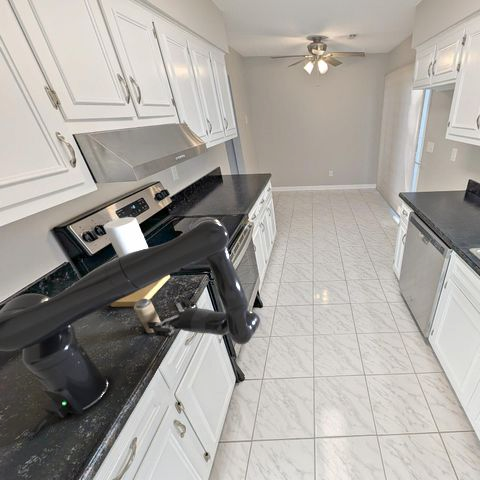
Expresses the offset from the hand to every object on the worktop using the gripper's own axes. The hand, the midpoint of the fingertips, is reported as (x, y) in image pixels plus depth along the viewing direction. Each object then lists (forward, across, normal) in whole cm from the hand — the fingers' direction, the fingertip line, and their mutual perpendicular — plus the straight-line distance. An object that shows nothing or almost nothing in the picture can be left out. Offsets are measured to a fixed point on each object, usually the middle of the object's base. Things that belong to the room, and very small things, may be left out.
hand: (158, 314), depth 87 cm
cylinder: (+44, -33, +7) cm, 56 cm away
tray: (+27, -18, +7) cm, 33 cm away
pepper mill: (+5, 0, +7) cm, 8 cm away
